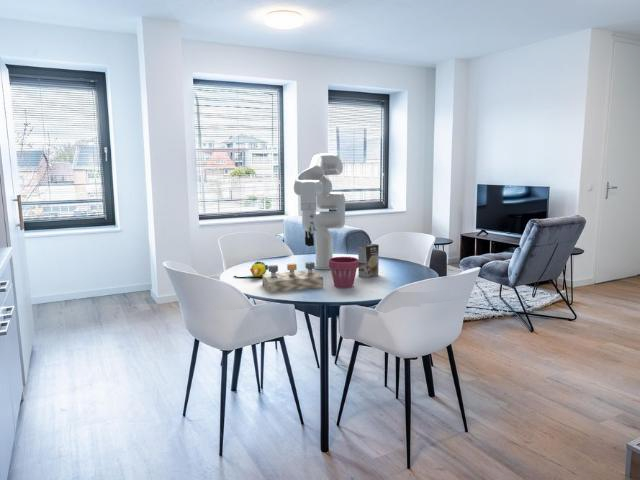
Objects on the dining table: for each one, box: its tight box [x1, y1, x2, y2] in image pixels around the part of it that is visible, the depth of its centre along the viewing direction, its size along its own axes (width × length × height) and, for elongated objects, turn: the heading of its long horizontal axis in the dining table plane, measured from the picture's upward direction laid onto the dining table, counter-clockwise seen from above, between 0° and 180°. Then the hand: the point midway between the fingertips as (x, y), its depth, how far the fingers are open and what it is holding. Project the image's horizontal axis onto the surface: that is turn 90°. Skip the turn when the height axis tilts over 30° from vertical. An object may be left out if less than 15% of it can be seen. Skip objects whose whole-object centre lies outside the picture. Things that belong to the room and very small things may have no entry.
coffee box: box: [357, 243, 380, 279], centre depth 246 cm, size 9×6×16 cm
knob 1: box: [268, 264, 279, 278], centre depth 225 cm, size 4×4×6 cm
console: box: [261, 269, 324, 293], centre depth 229 cm, size 26×16×5 cm, turn 107°
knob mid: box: [286, 263, 298, 277], centre depth 228 cm, size 4×4×6 cm
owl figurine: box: [247, 261, 269, 278], centre depth 250 cm, size 28×9×15 cm
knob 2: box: [304, 261, 316, 275], centre depth 231 cm, size 4×4×6 cm
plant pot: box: [329, 256, 359, 289], centre depth 226 cm, size 14×14×13 cm
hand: (309, 245), depth 229 cm, fingers open, 2 cm apart
